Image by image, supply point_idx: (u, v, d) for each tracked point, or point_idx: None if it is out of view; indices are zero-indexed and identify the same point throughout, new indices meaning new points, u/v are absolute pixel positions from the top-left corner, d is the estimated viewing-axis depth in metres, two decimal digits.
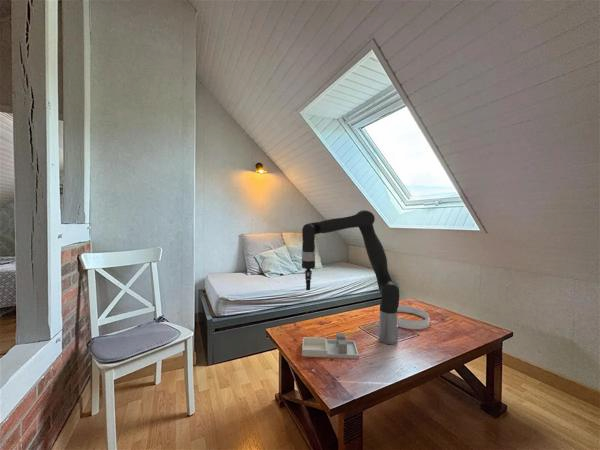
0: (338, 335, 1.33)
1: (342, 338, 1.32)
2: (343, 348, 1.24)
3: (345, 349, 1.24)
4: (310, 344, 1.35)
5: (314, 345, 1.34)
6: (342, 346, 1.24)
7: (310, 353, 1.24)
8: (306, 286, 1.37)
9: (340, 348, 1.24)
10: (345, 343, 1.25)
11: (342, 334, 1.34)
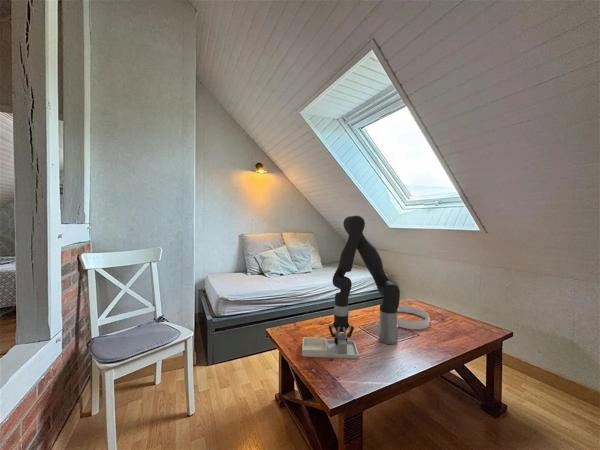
0: (338, 335, 1.33)
1: (342, 338, 1.32)
2: (343, 348, 1.24)
3: (345, 349, 1.24)
4: (310, 344, 1.35)
5: (314, 345, 1.34)
6: (342, 346, 1.24)
7: (310, 353, 1.24)
8: None
9: (340, 348, 1.24)
10: (345, 343, 1.25)
11: (342, 334, 1.34)
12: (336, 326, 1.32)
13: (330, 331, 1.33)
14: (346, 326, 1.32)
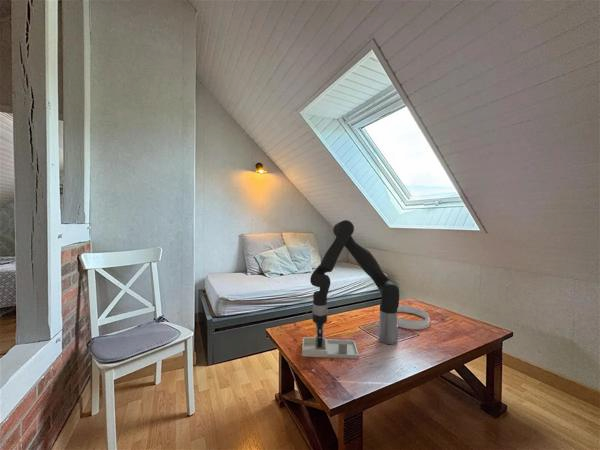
0: None
1: (323, 339, 1.30)
2: (343, 348, 1.24)
3: (345, 349, 1.24)
4: (310, 344, 1.35)
5: (314, 345, 1.34)
6: (342, 346, 1.24)
7: (310, 353, 1.24)
8: None
9: (340, 348, 1.24)
10: (345, 343, 1.25)
11: (318, 337, 1.31)
12: (322, 326, 1.27)
13: None
14: None
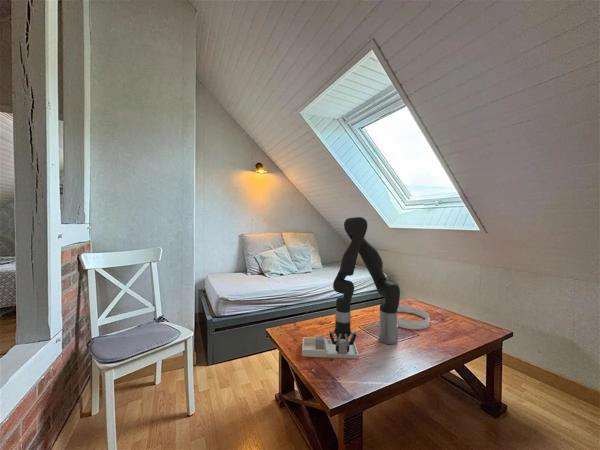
0: (321, 339, 1.28)
1: None
2: (343, 348, 1.24)
3: (345, 349, 1.24)
4: (310, 344, 1.35)
5: (314, 345, 1.34)
6: (342, 346, 1.24)
7: (310, 353, 1.24)
8: (347, 349, 1.25)
9: (340, 348, 1.24)
10: (345, 343, 1.25)
11: (318, 337, 1.31)
12: (337, 333, 1.25)
13: (331, 338, 1.25)
14: (348, 333, 1.25)
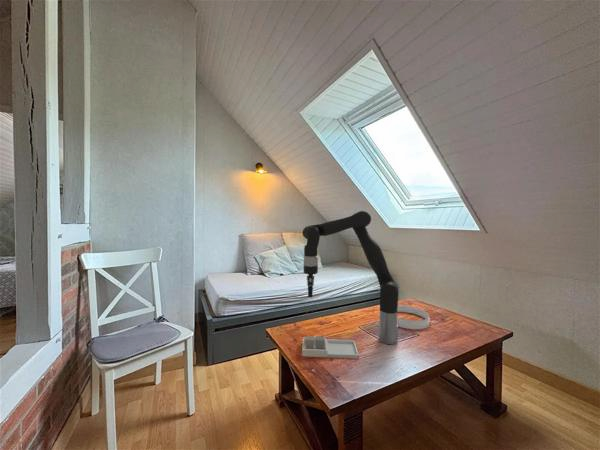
0: (321, 339, 1.28)
1: None
2: None
3: None
4: None
5: (314, 345, 1.34)
6: (313, 340, 1.30)
7: (310, 353, 1.24)
8: None
9: (313, 343, 1.29)
10: (312, 336, 1.31)
11: (318, 337, 1.31)
12: (312, 277, 1.31)
13: (312, 283, 1.26)
14: None
